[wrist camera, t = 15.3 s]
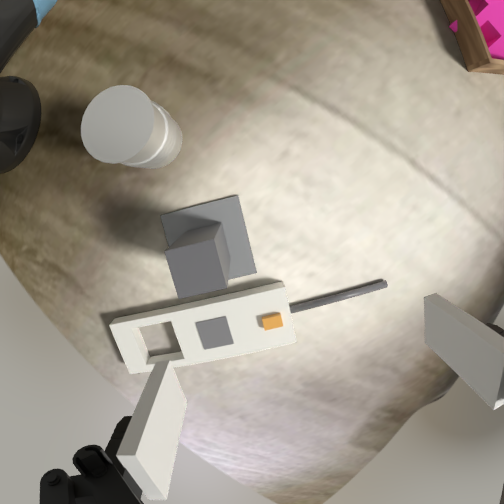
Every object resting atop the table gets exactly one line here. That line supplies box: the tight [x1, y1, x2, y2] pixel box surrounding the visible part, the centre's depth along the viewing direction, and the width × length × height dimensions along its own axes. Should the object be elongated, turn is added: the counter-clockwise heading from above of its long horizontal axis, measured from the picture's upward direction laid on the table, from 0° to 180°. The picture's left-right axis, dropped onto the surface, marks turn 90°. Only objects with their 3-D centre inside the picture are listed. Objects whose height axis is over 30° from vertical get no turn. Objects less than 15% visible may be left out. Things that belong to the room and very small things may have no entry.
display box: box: [440, 0, 504, 75], centre depth 32 cm, size 14×16×6 cm
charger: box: [164, 222, 231, 299], centre depth 35 cm, size 5×5×12 cm
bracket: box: [449, 0, 504, 60], centre depth 29 cm, size 12×10×10 cm
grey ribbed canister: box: [81, 85, 182, 169], centre depth 31 cm, size 7×7×15 cm
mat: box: [161, 195, 257, 280], centre depth 41 cm, size 10×10×1 cm
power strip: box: [109, 280, 387, 374], centre depth 42 cm, size 38×8×3 cm, turn 103°
